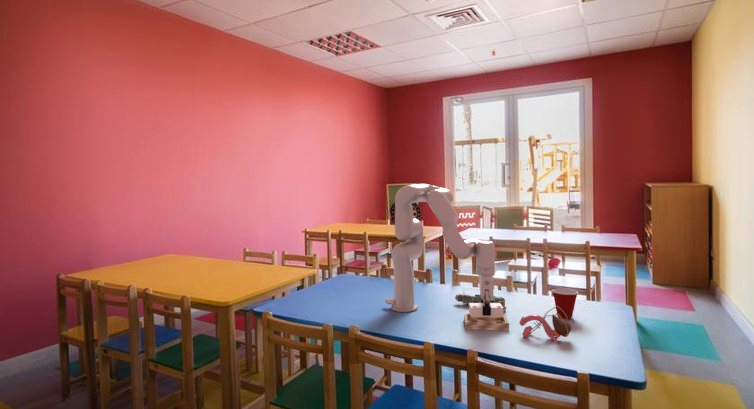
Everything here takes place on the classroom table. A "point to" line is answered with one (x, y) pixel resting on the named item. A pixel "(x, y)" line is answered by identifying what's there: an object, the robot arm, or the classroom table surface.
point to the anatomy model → (559, 325)
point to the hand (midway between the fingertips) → (485, 312)
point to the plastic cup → (565, 302)
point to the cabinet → (486, 322)
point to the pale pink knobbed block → (477, 310)
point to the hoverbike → (478, 299)
